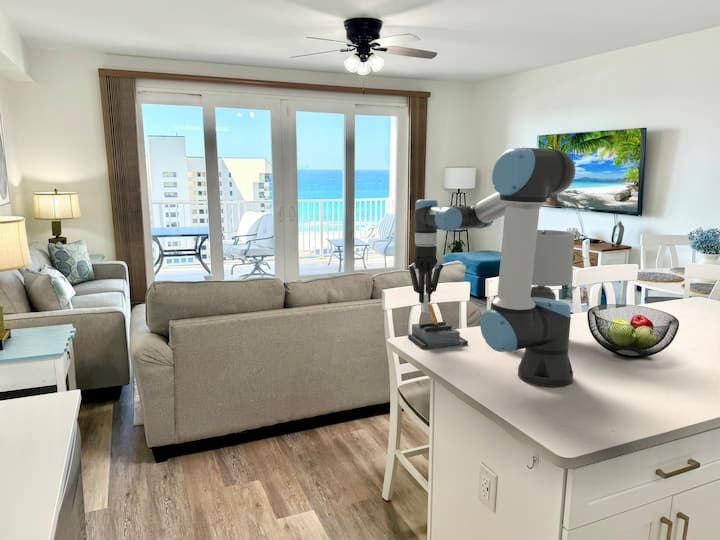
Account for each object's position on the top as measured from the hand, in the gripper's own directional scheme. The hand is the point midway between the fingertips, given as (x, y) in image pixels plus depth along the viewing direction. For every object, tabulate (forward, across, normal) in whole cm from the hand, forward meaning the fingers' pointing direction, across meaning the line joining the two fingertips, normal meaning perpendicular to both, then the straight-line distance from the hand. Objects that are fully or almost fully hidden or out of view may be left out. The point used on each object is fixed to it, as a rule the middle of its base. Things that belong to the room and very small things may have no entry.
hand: (424, 311), depth 183 cm
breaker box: (+11, -4, 0) cm, 12 cm away
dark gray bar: (+11, +3, 0) cm, 12 cm away
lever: (+5, -4, 0) cm, 6 cm away
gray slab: (+11, -13, 0) cm, 17 cm away
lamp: (+12, -44, +4) cm, 46 cm away
